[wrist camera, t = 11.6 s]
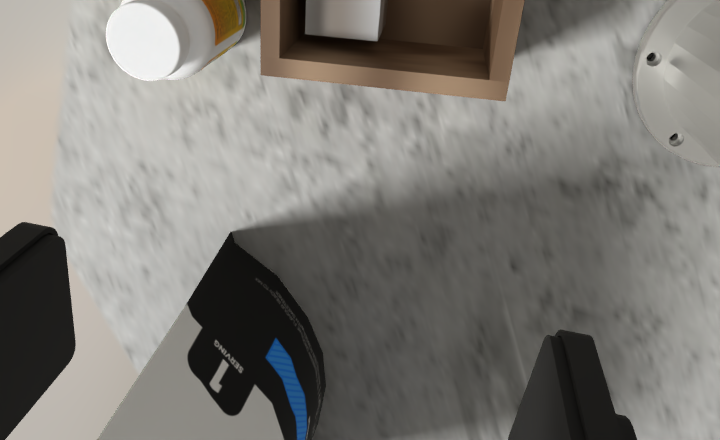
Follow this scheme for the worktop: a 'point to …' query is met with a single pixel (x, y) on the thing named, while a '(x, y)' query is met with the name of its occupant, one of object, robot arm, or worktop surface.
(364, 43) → the storage box
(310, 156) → the worktop surface
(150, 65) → the supplement bottle
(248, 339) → the protein powder
